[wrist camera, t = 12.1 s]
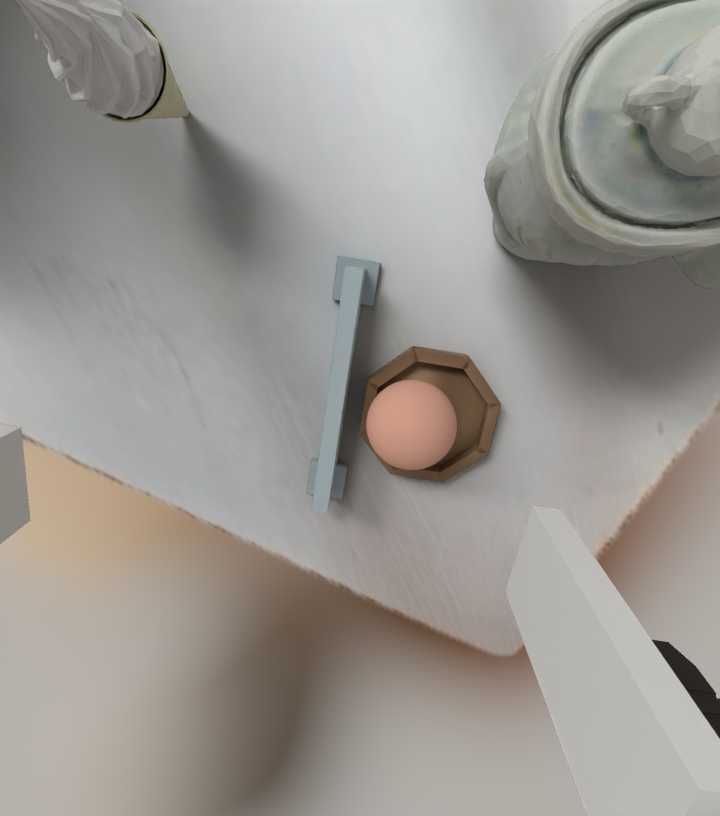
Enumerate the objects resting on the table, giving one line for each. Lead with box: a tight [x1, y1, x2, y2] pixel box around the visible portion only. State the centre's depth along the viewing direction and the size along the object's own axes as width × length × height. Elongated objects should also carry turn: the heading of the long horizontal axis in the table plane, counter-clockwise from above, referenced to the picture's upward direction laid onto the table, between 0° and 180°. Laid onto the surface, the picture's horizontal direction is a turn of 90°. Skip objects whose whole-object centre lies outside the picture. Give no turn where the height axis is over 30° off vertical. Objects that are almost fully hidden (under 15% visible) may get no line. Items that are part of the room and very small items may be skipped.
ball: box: [366, 380, 457, 470], centre depth 33 cm, size 6×6×6 cm
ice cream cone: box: [15, 0, 189, 122], centre depth 24 cm, size 5×5×15 cm
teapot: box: [484, 0, 720, 289], centre depth 22 cm, size 16×15×19 cm
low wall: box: [307, 256, 380, 514], centre depth 35 cm, size 3×19×4 cm, turn 171°
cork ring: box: [359, 346, 501, 482], centre depth 36 cm, size 10×10×2 cm
